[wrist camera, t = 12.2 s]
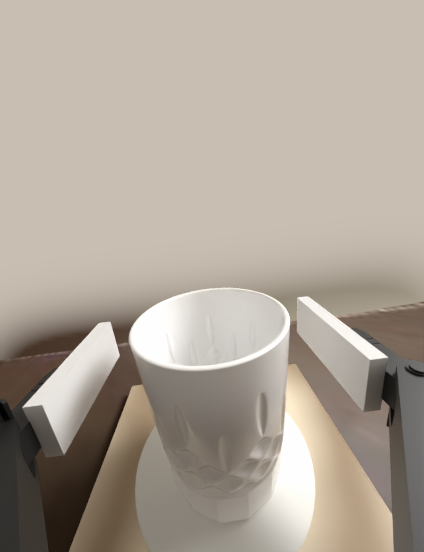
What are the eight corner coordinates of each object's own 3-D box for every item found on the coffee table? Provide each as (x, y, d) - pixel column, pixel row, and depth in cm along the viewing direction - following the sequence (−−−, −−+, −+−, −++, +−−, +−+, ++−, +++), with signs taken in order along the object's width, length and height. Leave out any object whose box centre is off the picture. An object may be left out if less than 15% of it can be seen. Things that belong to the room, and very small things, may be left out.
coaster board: (16, 723, 7) (5, 713, 7) (134, 393, 21) (132, 385, 20) (462, 646, 8) (469, 632, 7) (295, 371, 21) (295, 363, 21)
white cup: (199, 596, 9) (153, 410, 6) (151, 436, 15) (118, 312, 13) (320, 472, 12) (329, 318, 9) (238, 385, 19) (229, 279, 16)
